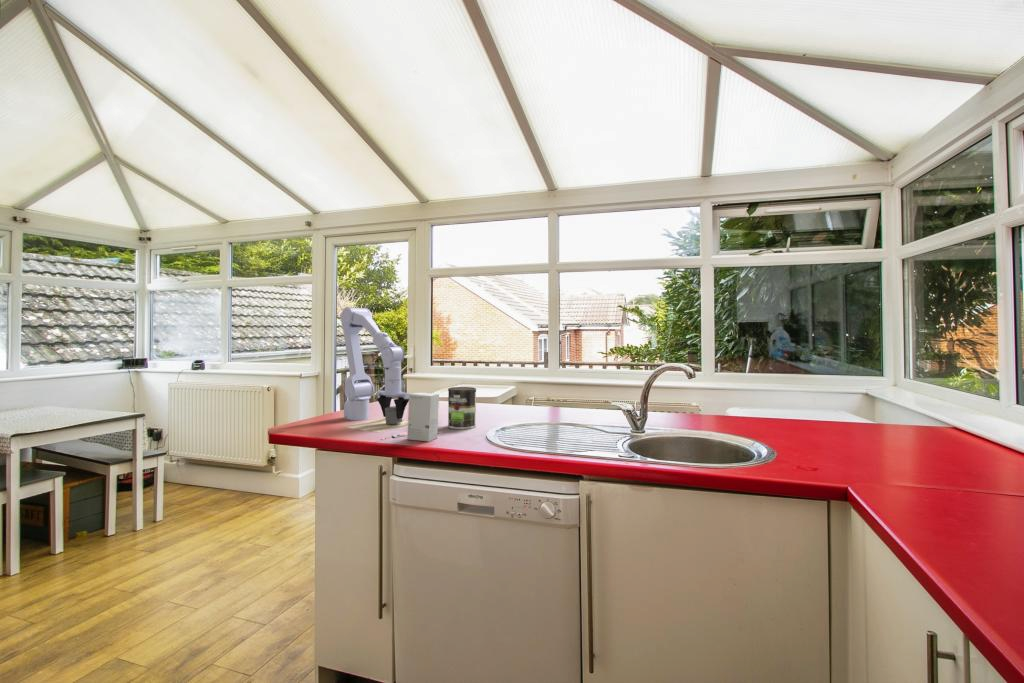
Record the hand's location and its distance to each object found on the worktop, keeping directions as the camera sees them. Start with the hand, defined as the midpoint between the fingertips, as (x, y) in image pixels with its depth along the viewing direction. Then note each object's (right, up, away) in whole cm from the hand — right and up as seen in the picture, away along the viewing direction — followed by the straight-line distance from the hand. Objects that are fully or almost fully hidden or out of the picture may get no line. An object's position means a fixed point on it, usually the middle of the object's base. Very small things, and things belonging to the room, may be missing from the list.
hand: (393, 417), depth 171 cm
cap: (0, -2, 0) cm, 2 cm away
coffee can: (+25, -4, +4) cm, 25 cm away
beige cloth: (-4, -4, 0) cm, 6 cm away
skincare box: (+14, -5, -17) cm, 23 cm away
